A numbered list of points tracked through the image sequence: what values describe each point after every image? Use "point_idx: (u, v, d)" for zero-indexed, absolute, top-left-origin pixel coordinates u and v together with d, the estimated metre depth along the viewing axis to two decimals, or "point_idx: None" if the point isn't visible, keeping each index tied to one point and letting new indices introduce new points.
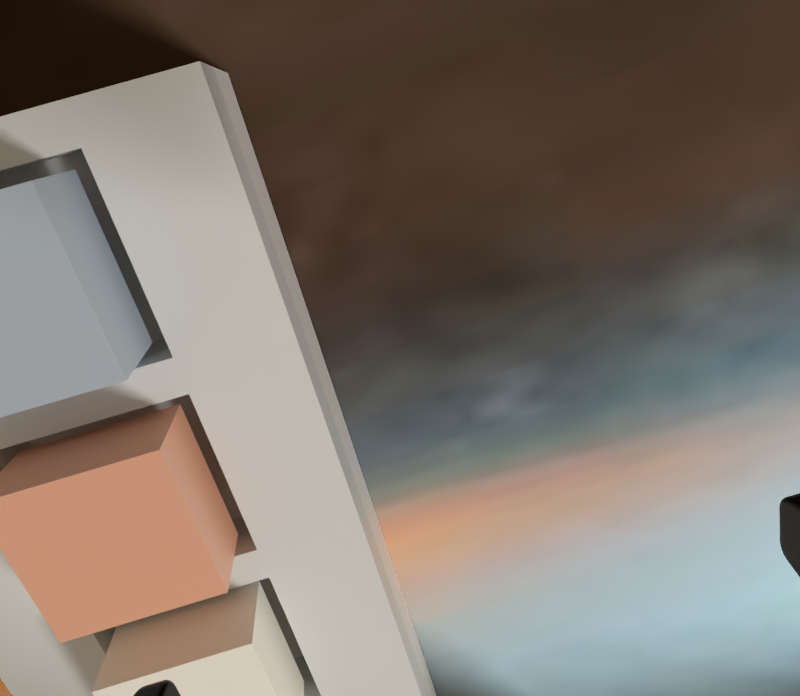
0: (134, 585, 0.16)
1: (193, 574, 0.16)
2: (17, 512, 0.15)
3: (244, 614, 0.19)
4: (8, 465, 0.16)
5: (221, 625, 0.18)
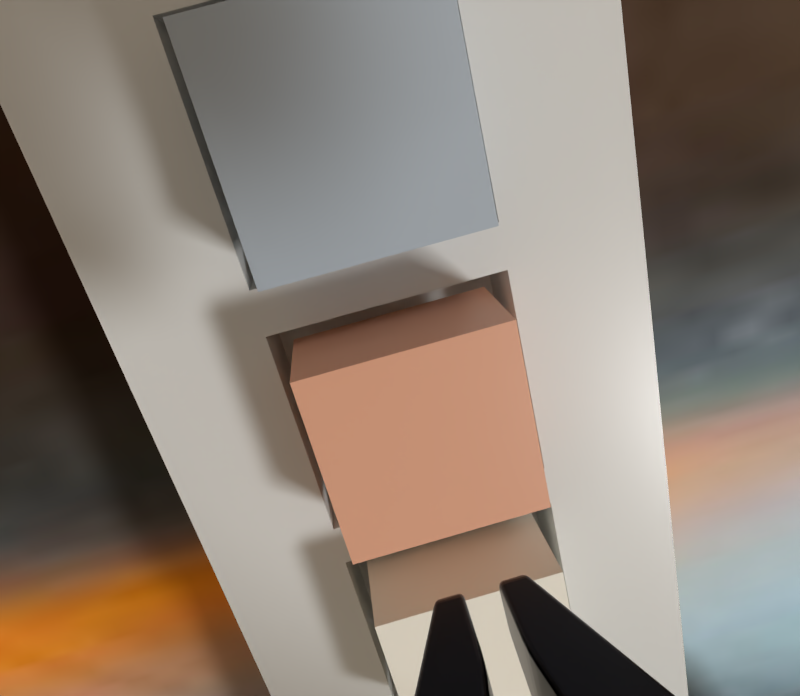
0: (450, 494, 0.14)
1: (518, 482, 0.14)
2: (339, 394, 0.12)
3: (532, 543, 0.16)
4: (296, 350, 0.14)
5: (508, 554, 0.16)
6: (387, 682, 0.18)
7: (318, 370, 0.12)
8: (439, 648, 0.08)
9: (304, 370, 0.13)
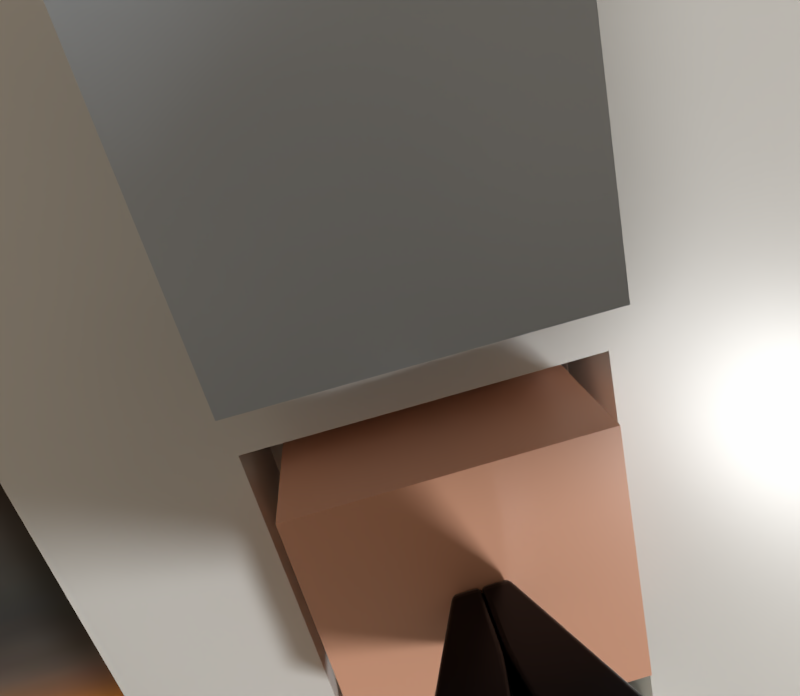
0: None
1: (608, 645, 0.09)
2: (350, 538, 0.08)
3: None
4: (287, 453, 0.10)
5: None
6: None
7: (319, 502, 0.08)
8: (459, 642, 0.08)
9: (298, 499, 0.08)
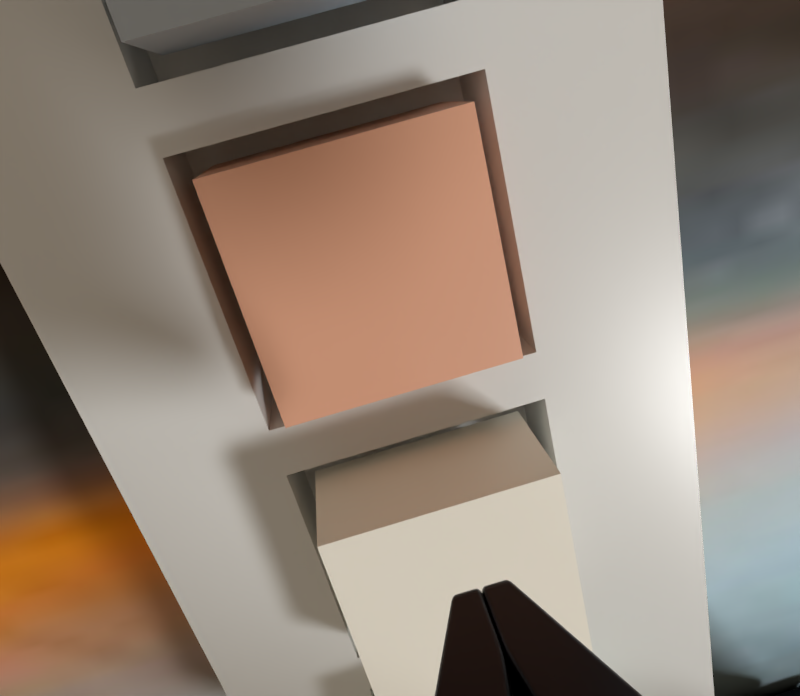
0: (400, 338, 0.11)
1: (483, 325, 0.11)
2: (256, 198, 0.10)
3: (521, 445, 0.12)
4: (212, 167, 0.11)
5: (491, 459, 0.12)
6: (346, 630, 0.15)
7: (229, 168, 0.10)
8: (459, 642, 0.08)
9: (213, 172, 0.10)
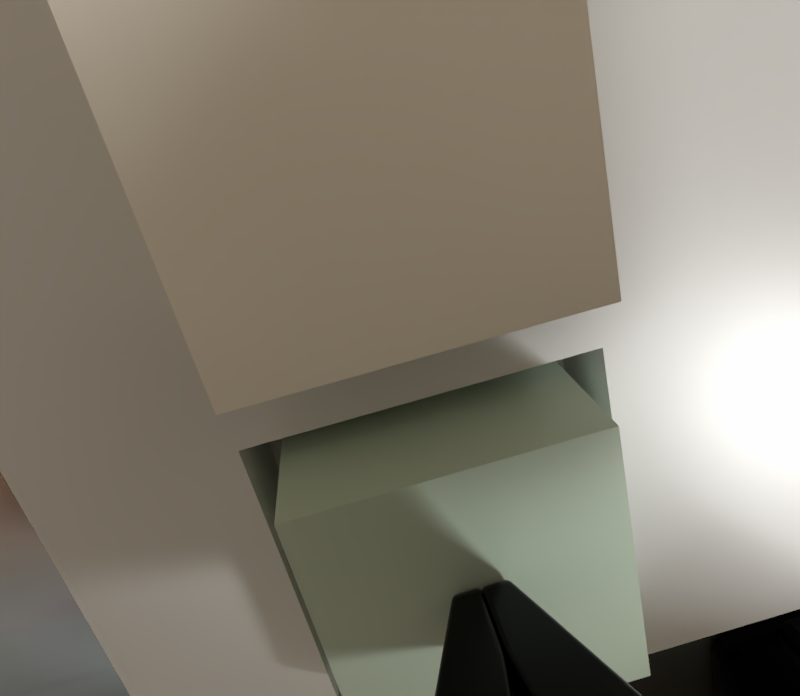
0: None
1: None
2: None
3: None
4: None
5: None
6: None
7: None
8: (459, 642, 0.08)
9: None
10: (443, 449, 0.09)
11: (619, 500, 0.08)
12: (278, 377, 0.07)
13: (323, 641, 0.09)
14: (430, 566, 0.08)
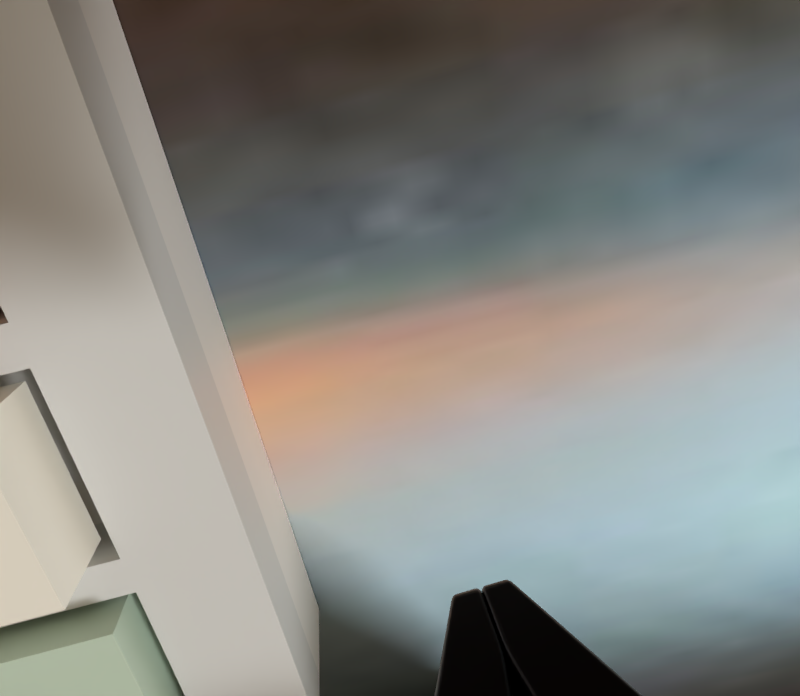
0: None
1: None
2: None
3: None
4: None
5: None
6: None
7: None
8: (459, 642, 0.08)
9: None
10: (34, 638, 0.16)
11: (125, 668, 0.16)
12: None
13: None
14: None
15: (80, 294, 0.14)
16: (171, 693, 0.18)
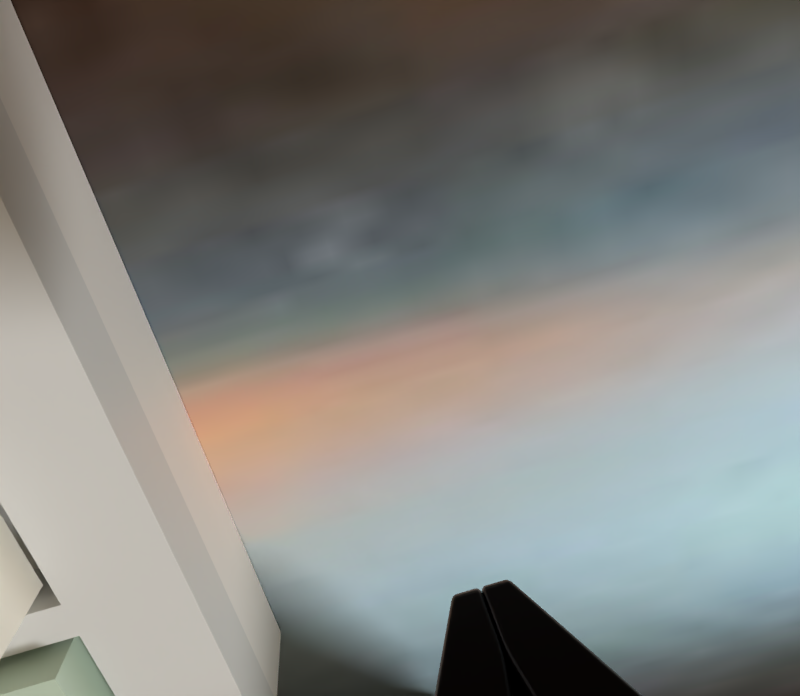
0: None
1: None
2: None
3: None
4: None
5: None
6: None
7: None
8: (459, 642, 0.08)
9: None
10: None
11: None
12: None
13: None
14: None
15: None
16: None
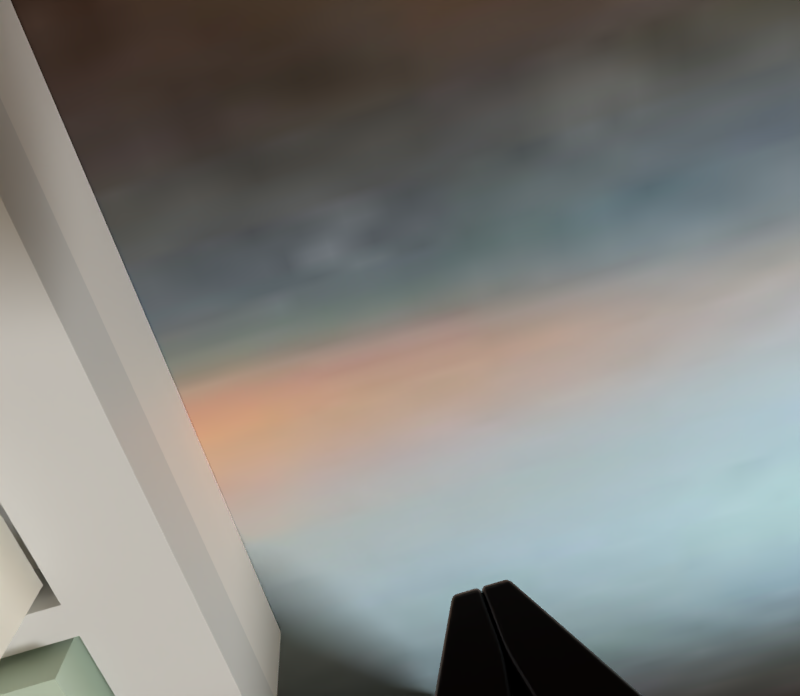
0: None
1: None
2: None
3: None
4: None
5: None
6: None
7: None
8: (459, 642, 0.08)
9: None
10: None
11: None
12: None
13: None
14: None
15: None
16: None
